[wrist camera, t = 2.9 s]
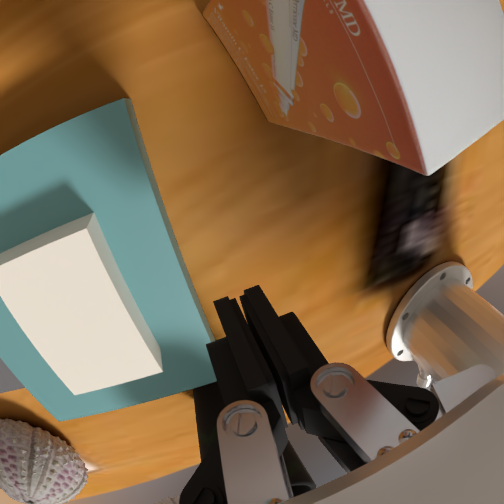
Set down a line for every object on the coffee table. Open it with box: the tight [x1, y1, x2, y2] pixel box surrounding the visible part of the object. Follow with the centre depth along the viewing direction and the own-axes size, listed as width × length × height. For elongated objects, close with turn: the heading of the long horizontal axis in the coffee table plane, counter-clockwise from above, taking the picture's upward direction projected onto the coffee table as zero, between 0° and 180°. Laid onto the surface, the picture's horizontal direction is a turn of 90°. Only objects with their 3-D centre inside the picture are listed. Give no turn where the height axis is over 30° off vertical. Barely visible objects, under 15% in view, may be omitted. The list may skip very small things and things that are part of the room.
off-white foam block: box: [0, 212, 163, 395], centre depth 15 cm, size 9×6×2 cm, turn 12°
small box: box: [202, 0, 504, 176], centre depth 11 cm, size 8×6×13 cm
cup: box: [193, 381, 316, 497], centre depth 22 cm, size 8×8×12 cm
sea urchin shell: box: [0, 418, 88, 504], centre depth 22 cm, size 13×14×8 cm
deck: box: [0, 98, 217, 421], centre depth 17 cm, size 18×14×4 cm
